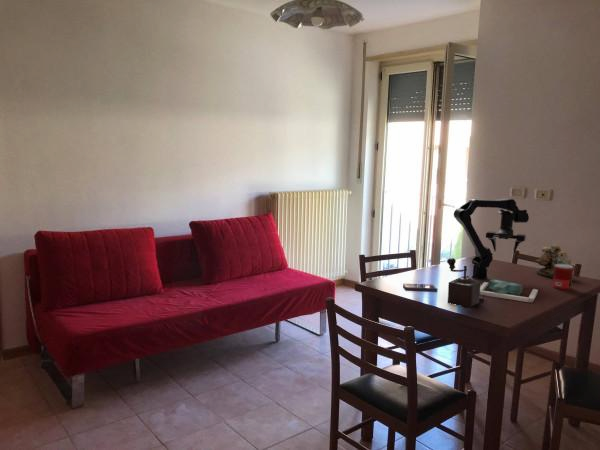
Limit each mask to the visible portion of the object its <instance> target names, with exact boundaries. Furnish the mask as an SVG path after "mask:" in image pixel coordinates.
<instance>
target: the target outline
mask: <svg viewBox="0 0 600 450" xmlns="http://www.w3.org/2000/svg"><path fill="white" fill-rule="evenodd" d="M487 287H489V282H488V281H487V282H486V281H484V282H483V283H482V284H480V296H487V297H493V298H500V299H506V300H513V301H518V302H519V301H520V302H527V303H531V304H532V303H534V301H535V299H536V297H537V296H538V293H539V290H538V289H536V288H533V289H532V290H531V292H530V293H529V296H528V297H526V296H521V295H516V294H509V293H506V294H502V293H495V292H493V291H487V290H486V289H487Z"/></svg>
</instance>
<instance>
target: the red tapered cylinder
mask: <svg viewBox="0 0 600 450" xmlns="http://www.w3.org/2000/svg"><path fill="white" fill-rule="evenodd" d="M573 273H574V266H573V265H571V264H570V265H566V264H555V266H554V277H553V279H552V286H553V287H552V288H554V289H557V290H563V291H567V290H571V289H572V284H573Z"/></svg>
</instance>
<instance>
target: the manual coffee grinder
mask: <svg viewBox="0 0 600 450" xmlns="http://www.w3.org/2000/svg"><path fill="white" fill-rule="evenodd" d="M456 262H457V261H456V259H455V258H453V257H451V258H450V257H449V258H447V261H446V263H447V264H448V267H449V269H450V272H454V273H455V272H456V273H458V272H459V273H462V272H463V276H461V277H458V278H457V277H456V279H453V280H451V281H449V282H448V288H447V289H448V292H447V304H450V303H451V305H454V304H456V305H455V306H458V305H461V306H460V307H463V306H465V307H464V308H468V307H471V308H473V307H475V306H476V304H477V305H479V304H480V296H481V295H480V286H481V282H480V281H478V280H477V281H476V280H474V279H472V278H471V277H470V275H467V271H468V269H467V268H468V266H467V265H464V266H463V269H456V266H455V265H456ZM474 305H475V306H474ZM472 306H473V307H472Z"/></svg>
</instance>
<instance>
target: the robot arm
mask: <svg viewBox="0 0 600 450" xmlns="http://www.w3.org/2000/svg"><path fill="white" fill-rule="evenodd" d="M477 208H496V209H499V210H498V211H497V214H498V215H500V227H499V230H498V233H496V231H492V230H491V231H490V230H488V231H487V232H486V233H485V238H487V239H488V240H489V241H490V242H491V244H492V248H493V252H496V251H497V238H498V239H501V240H502V239H503V240H509V239H514V240H515V241H514V246H513V247H514V248H513V254H514V255H515V253H516V251H517V248H518V247H519V245H520V243H523V242H526V240H527V236H526V234H524V233H523V234H522V233H517V234H514V230H513V225H514V224H513V223H515V224H519V223H523V224H524V223H525V224H527V223H528V222H529V220H530V216H529V214H528V212H527V211H528V210H527V209H523V208H522V209H519V207H518V206H517V202H516V201H515V199H513V198H507V197H504V198H498V199H475V198H471V199H469V200H468V201H467V202H466V203H464V204H463V205H461V206H460V207H459V208H456V209H455V210H454V212H453V217H454V218H455V220H456V221H457V222H458V224H459V225H461V227H462V228H463V229H464V231H465V234H466V235H467V237H468V239H469V240H470V242H471V244H472V246H473V248H474V254H475V256H474V257H473V258H472V259H471V263H472V265H473V269H472V276H471V279H472V278H473V279H478V280H479V279H480V280H485V279H487V278H488V275H489V269H488V268H490V265H491V263H492V262H493V259H494V257H493V256H494V254H493V253H492V252H491V249H490V248H489V247H487V246H484V244H483V242H482V240H481V239H480V236H479V235H478V233H477V231H476V229H475V228H474V226H473V223H472V217H471V216H472V215H473V214H474V213H475V211H476V209H477Z"/></svg>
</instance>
